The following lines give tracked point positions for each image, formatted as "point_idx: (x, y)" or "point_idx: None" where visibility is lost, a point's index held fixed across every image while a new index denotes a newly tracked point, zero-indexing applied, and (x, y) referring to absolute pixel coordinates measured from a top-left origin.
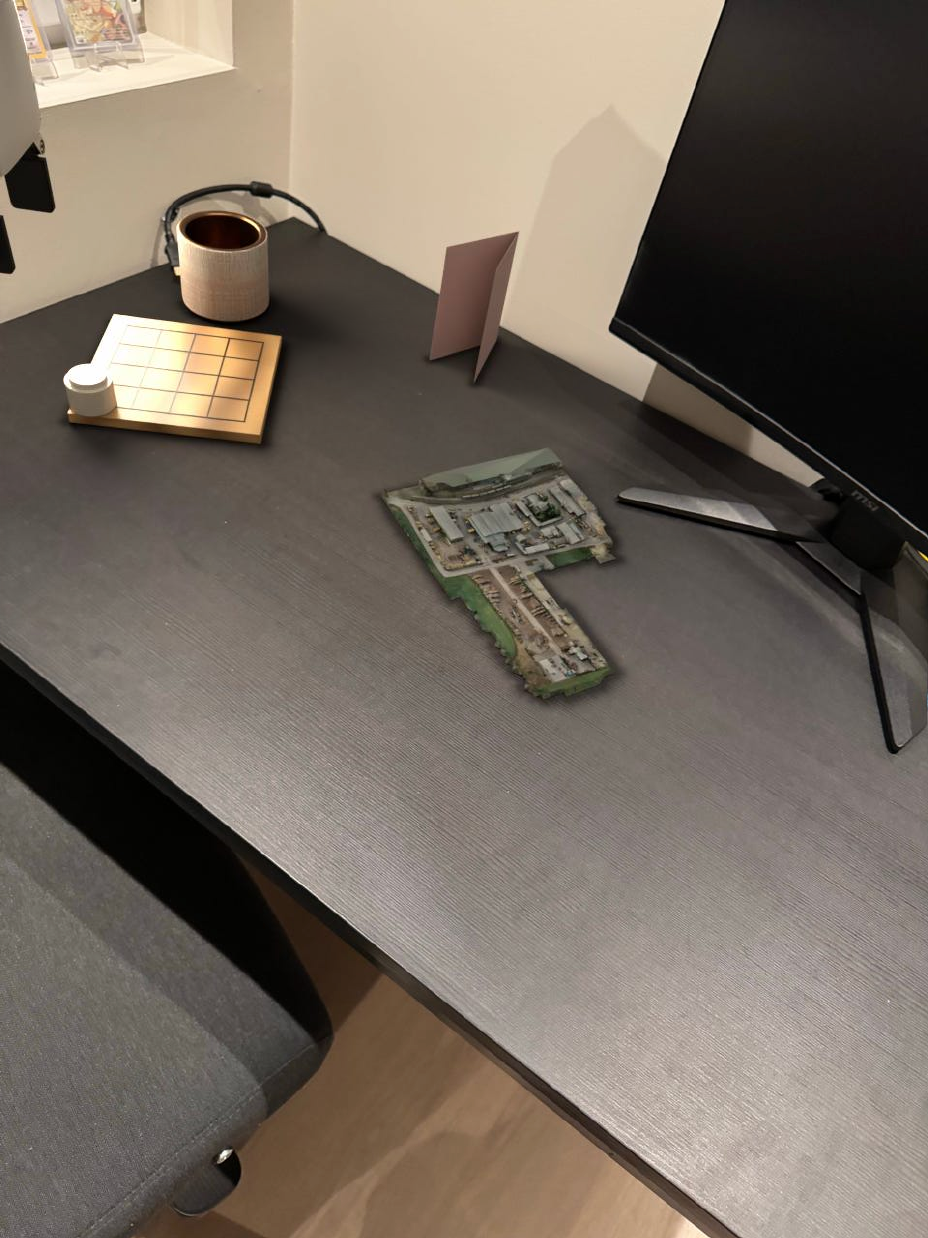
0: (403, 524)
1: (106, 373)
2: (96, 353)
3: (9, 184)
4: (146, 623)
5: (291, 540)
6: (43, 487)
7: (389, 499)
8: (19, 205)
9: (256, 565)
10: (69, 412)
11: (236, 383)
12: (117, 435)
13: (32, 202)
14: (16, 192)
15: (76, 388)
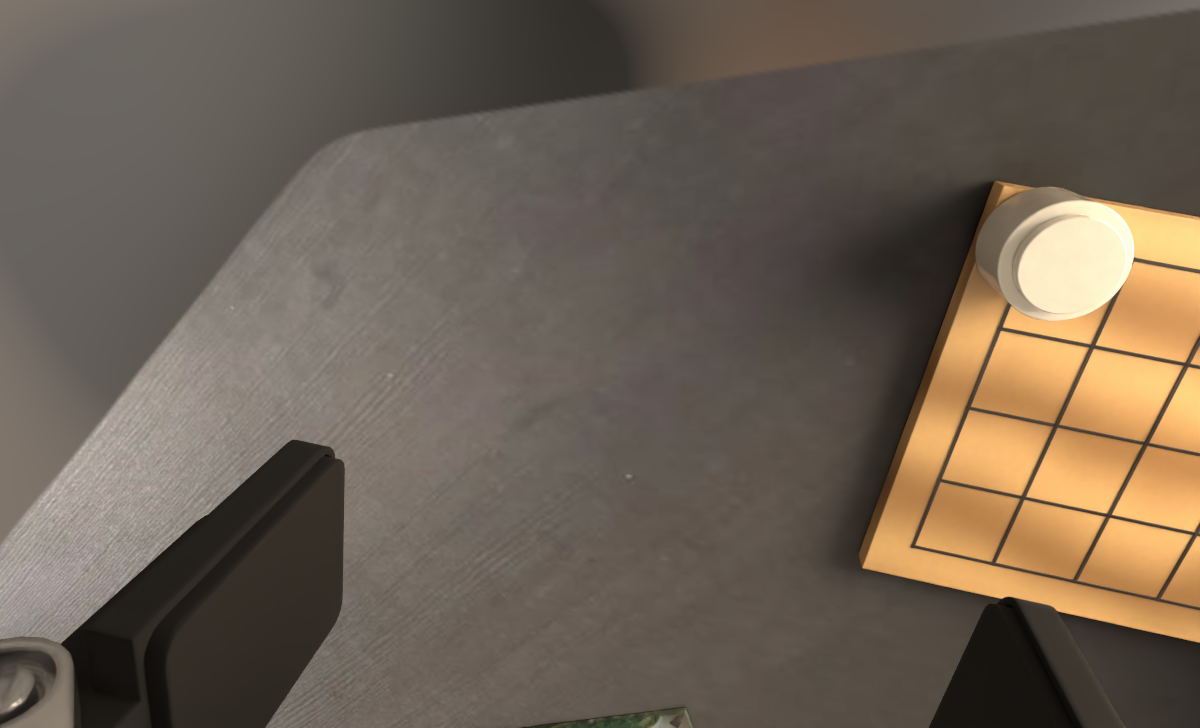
0: (608, 723)
1: (1067, 313)
2: None
3: (1037, 710)
4: (388, 345)
5: (581, 566)
6: (749, 145)
7: (665, 721)
8: (975, 641)
9: (522, 510)
10: (1005, 190)
11: (1066, 546)
12: (924, 289)
13: (960, 720)
14: (1003, 699)
15: (1022, 236)
